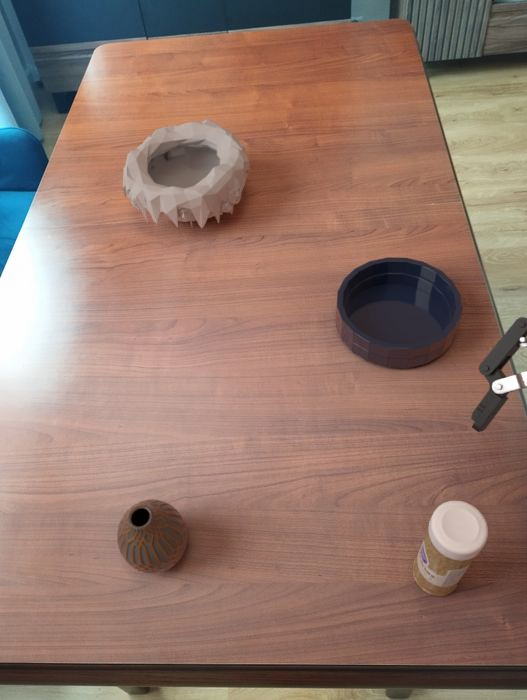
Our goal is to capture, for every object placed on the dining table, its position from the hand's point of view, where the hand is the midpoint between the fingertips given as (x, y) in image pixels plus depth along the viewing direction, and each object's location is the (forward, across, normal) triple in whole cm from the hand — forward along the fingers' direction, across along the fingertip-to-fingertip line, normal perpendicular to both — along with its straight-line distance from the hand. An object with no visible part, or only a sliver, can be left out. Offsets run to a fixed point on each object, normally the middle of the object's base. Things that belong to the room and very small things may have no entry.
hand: (519, 461), depth 50 cm
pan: (0, -24, +20) cm, 32 cm away
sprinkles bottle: (+16, 0, +5) cm, 16 cm away
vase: (+29, -21, -9) cm, 37 cm away
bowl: (+3, -64, +18) cm, 67 cm away
